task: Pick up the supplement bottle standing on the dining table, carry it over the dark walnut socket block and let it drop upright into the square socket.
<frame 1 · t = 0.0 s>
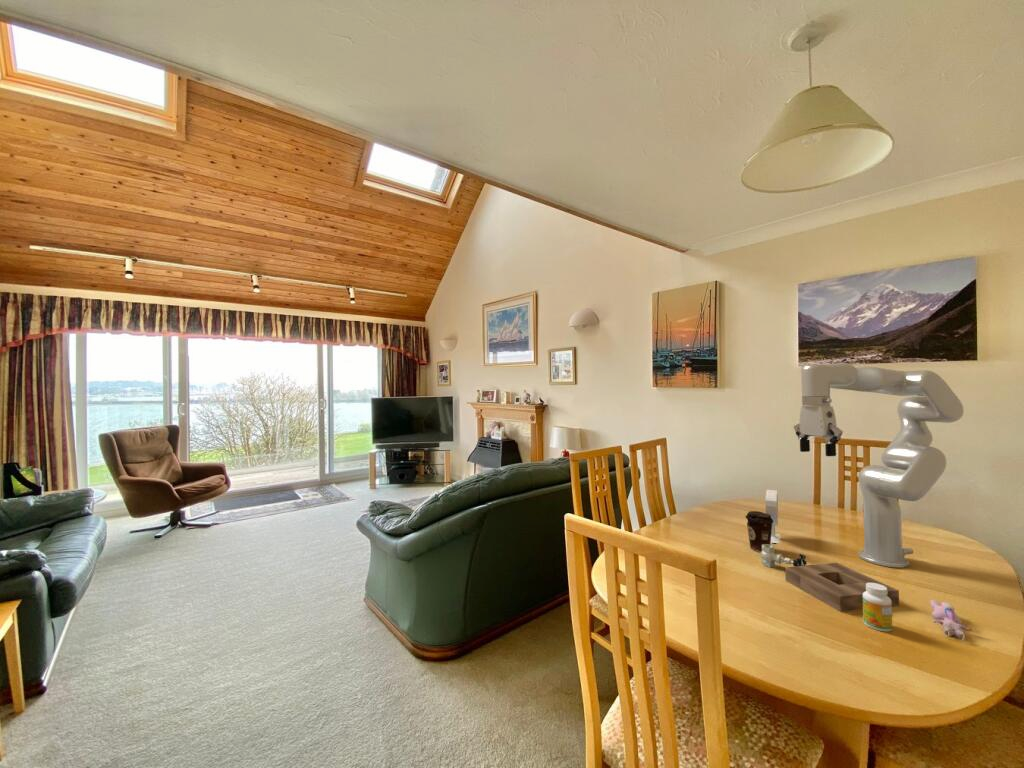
hand: (817, 453, 136), 37 cm above the table, tool pointing down, fingers open, 9 cm apart
socket block: (838, 592, 118), on the table
coffee cup: (759, 550, 150), on the table
supplement bottle: (877, 626, 102), on the table
valve: (782, 570, 134), on the table
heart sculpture: (772, 538, 161), on the table
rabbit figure: (947, 627, 101), on the table
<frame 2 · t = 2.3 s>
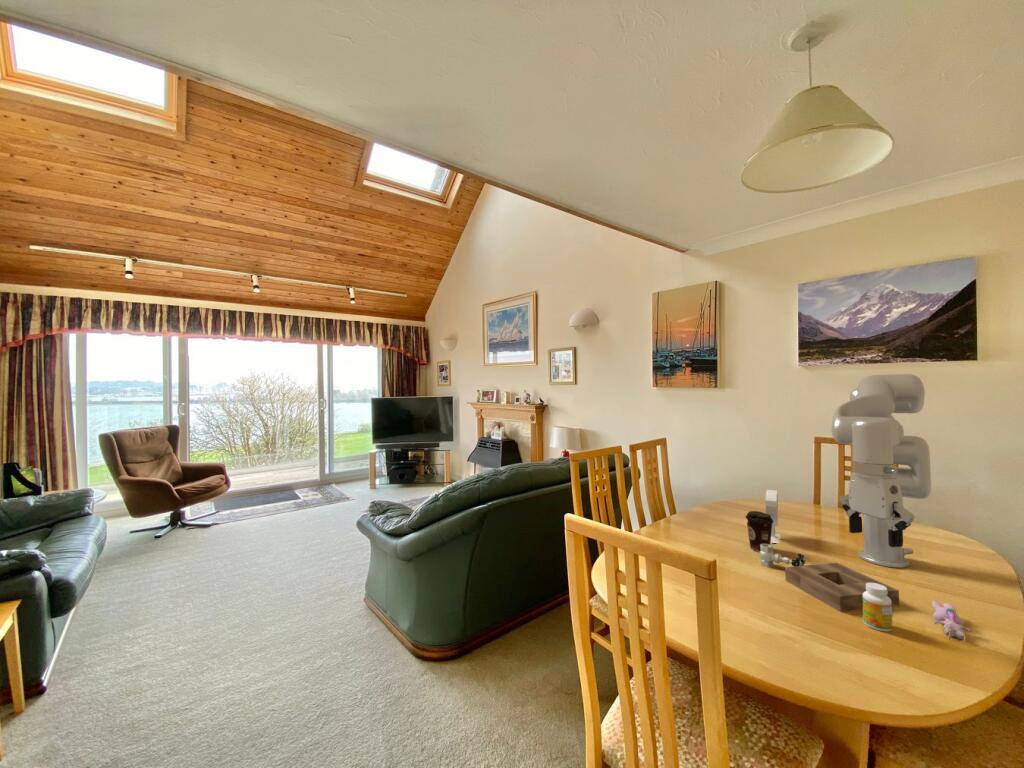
hand: (874, 539, 102), 21 cm above the table, tool pointing down, fingers open, 9 cm apart
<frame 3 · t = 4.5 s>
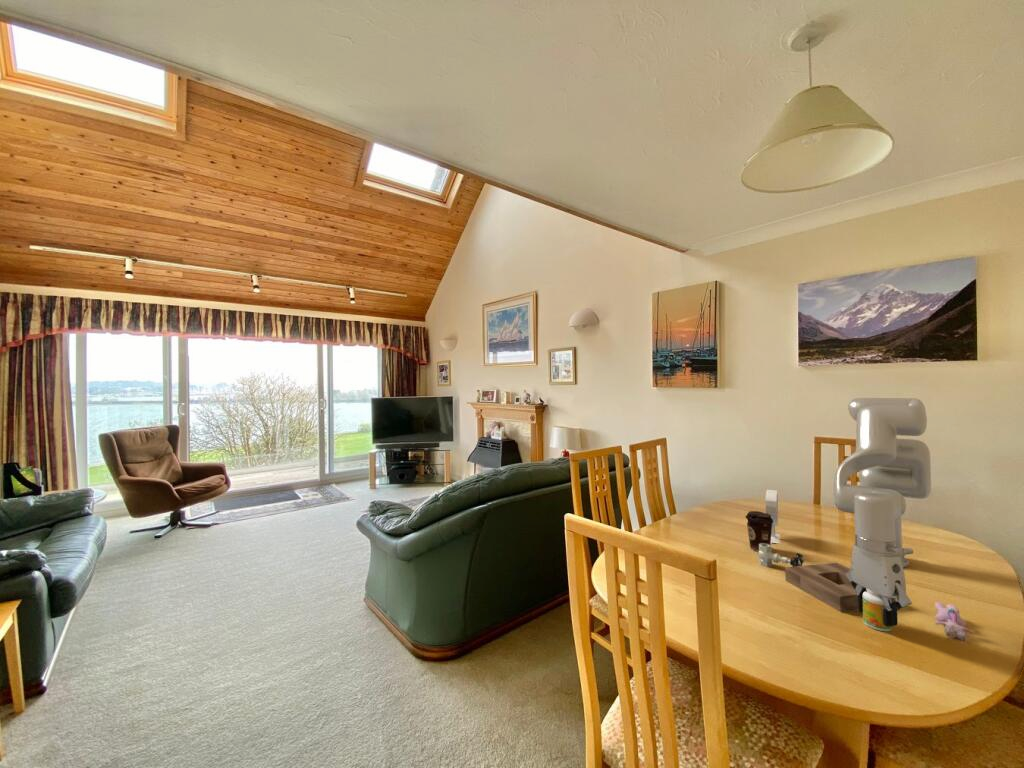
hand: (877, 617, 102), 2 cm above the table, tool pointing down, fingers closed on supplement bottle, 5 cm apart
supplement bottle: (877, 626, 102), on the table, touching gripper
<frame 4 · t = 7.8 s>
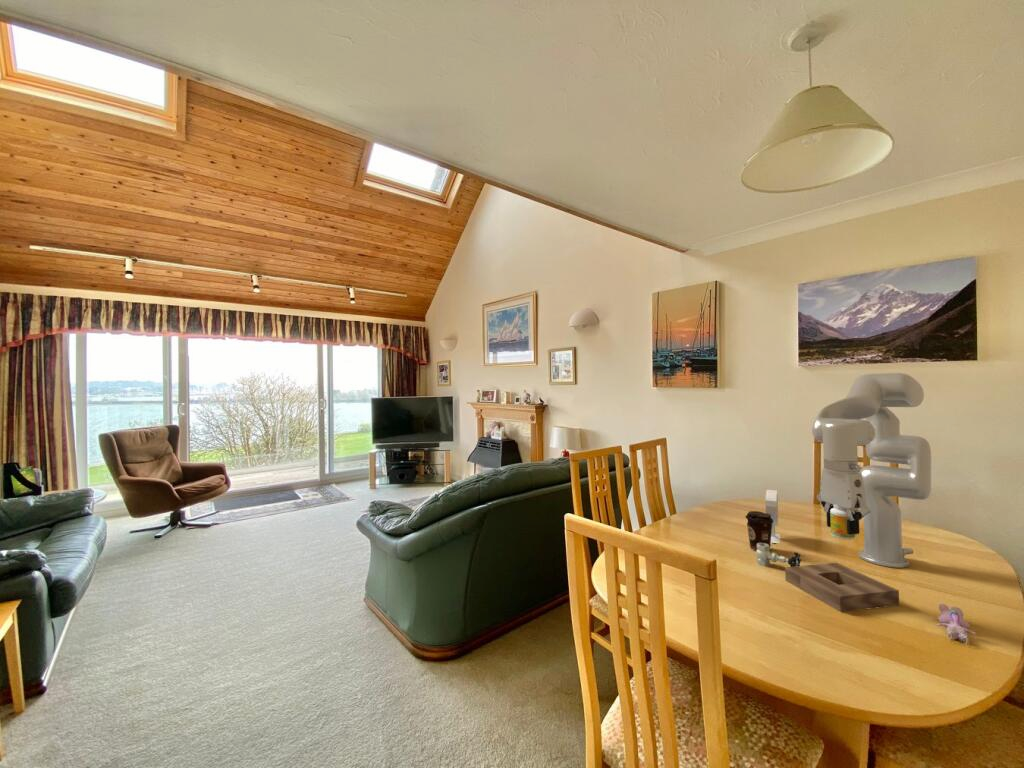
hand: (842, 529, 116), 19 cm above the table, tool pointing down, fingers closed on supplement bottle, 5 cm apart
supplement bottle: (843, 537, 116), point 17 cm above the table, touching gripper
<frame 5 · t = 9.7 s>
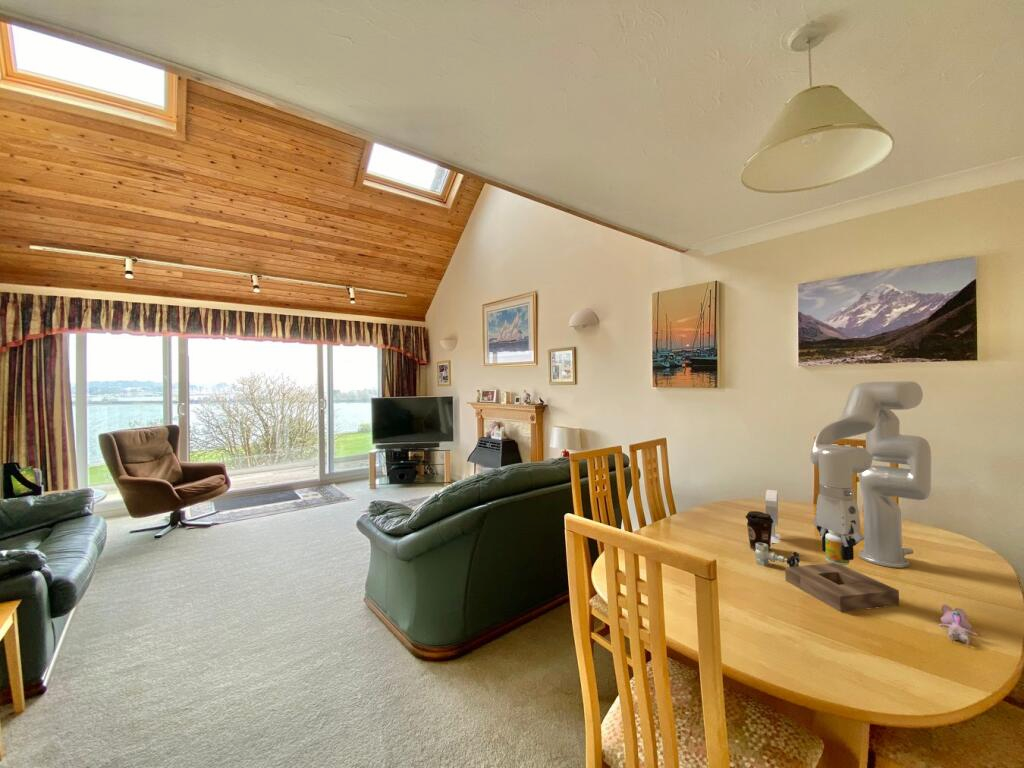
hand: (837, 554, 118), 11 cm above the table, tool pointing down, fingers closed on supplement bottle, 5 cm apart
supplement bottle: (837, 562, 118), point 9 cm above the table, touching gripper
when the fingers open (6 cm above the table, at t = 11.1 s): supplement bottle drops 4 cm, resting in socket block.
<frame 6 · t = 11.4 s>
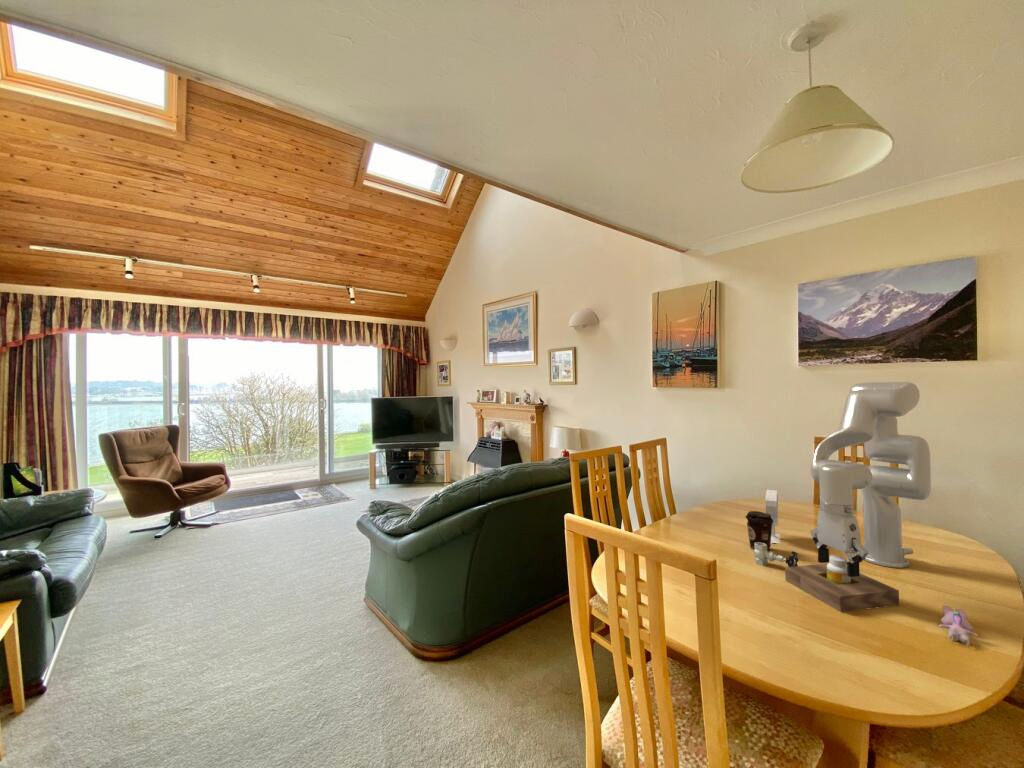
hand: (838, 568, 118), 7 cm above the table, tool pointing down, fingers open, 8 cm apart
supplement bottle: (838, 592, 118), resting in socket block
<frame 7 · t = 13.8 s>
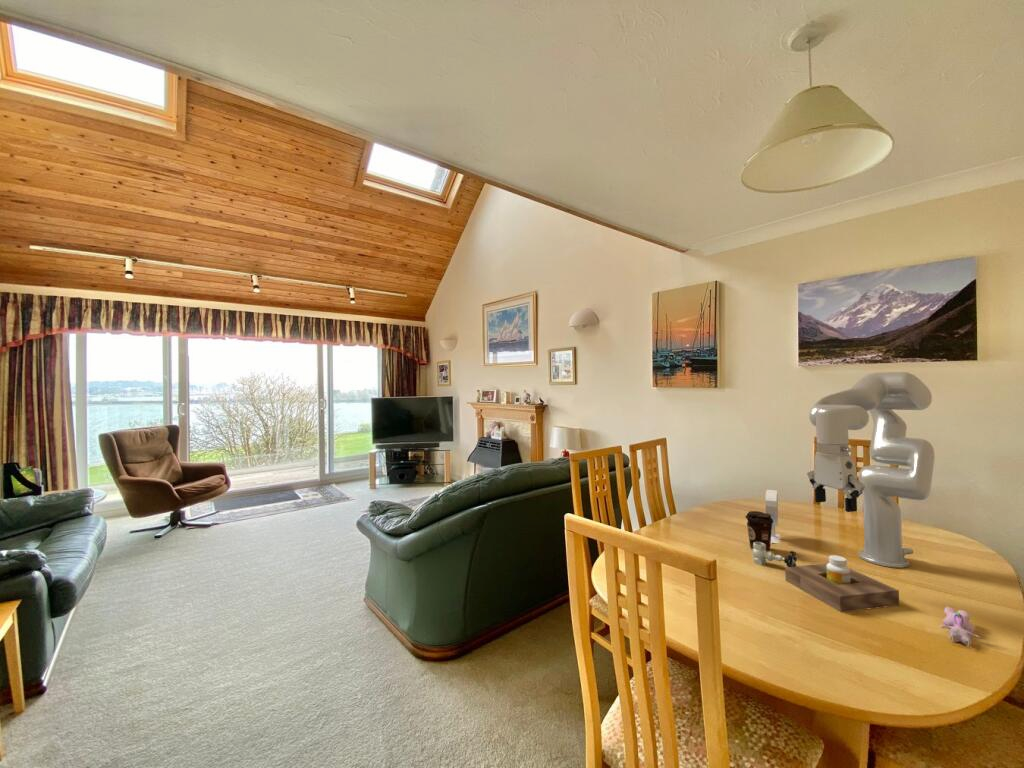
hand: (835, 506, 123), 23 cm above the table, tool pointing down, fingers open, 9 cm apart
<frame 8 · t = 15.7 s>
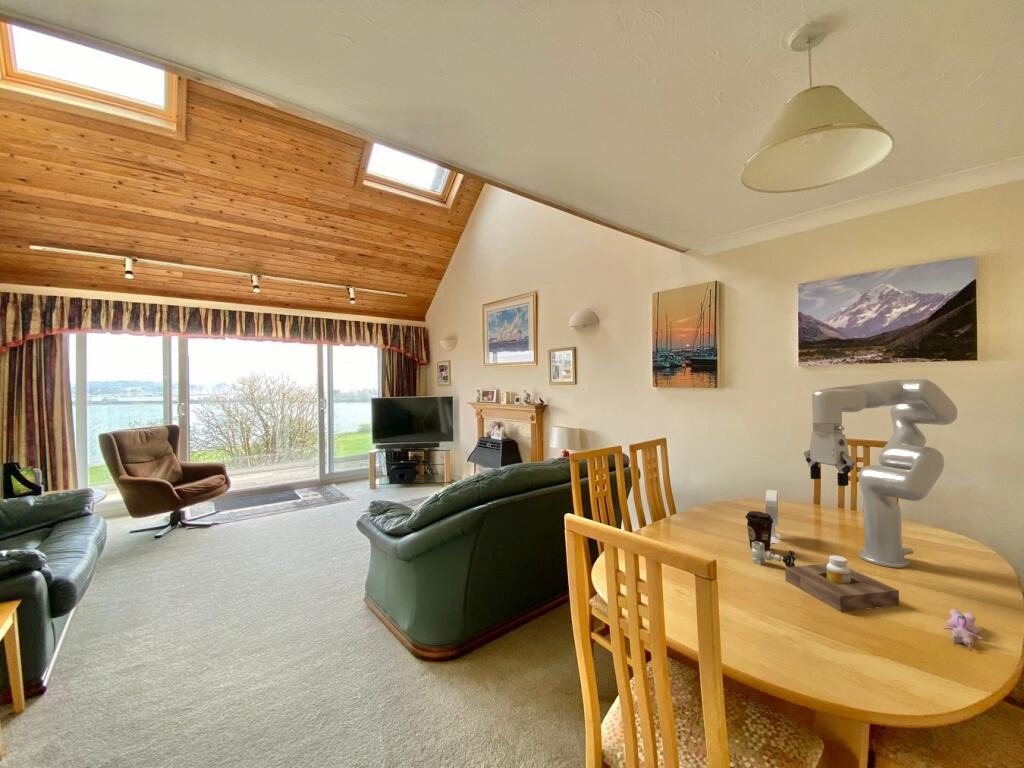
hand: (828, 482, 132), 28 cm above the table, tool pointing down, fingers open, 9 cm apart
at the end: supplement bottle 0.1 cm off-centre on the socket block, point 0.0 cm above the socket block's base; supplement bottle tilted 0°; the gripper is holding nothing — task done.
